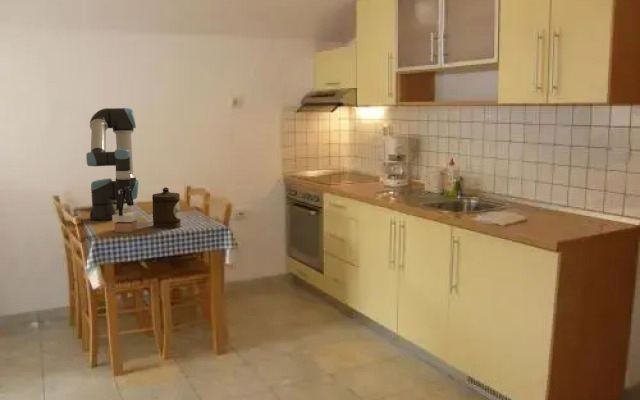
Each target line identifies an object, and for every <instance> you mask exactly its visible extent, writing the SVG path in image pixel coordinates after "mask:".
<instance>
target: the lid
mask: <svg viewBox="0 0 640 400" xmlns="http://www.w3.org/2000/svg"><path fill="white" fill-rule="evenodd" d="M138 219H140V211H132V212H127V211H124V221H125V222H133V221H135V220H137V221H138ZM111 221H112V222H113V223H116V222H119V213H118V212H116V214H114V215H112V220H111Z"/></svg>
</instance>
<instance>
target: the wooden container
mask: <svg viewBox="0 0 640 400" xmlns="http://www.w3.org/2000/svg"><path fill="white" fill-rule="evenodd" d="M180 199H181V198H180V193H179V192H170V190H169V188H168V187H167V186H166V187H163V188H162V191H161V192H157V193H153V194H152V222H153V223H152V227H153V228H155V229H159V230H160V229H161V230H166V229H167V230H173V229H178V228H180V227H181V224H182V223H181V221H182V220H181V203H180V202H181V201H180Z"/></svg>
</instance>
